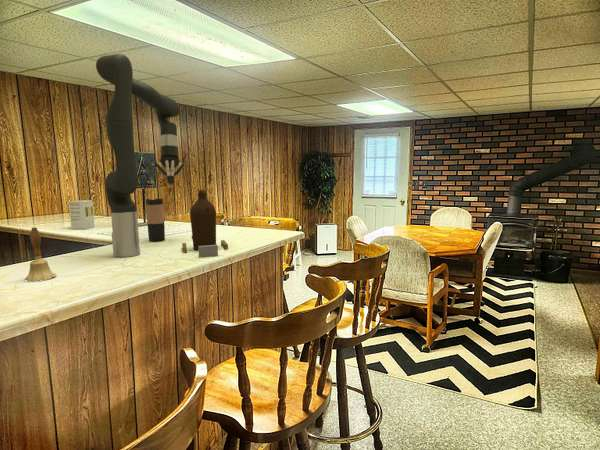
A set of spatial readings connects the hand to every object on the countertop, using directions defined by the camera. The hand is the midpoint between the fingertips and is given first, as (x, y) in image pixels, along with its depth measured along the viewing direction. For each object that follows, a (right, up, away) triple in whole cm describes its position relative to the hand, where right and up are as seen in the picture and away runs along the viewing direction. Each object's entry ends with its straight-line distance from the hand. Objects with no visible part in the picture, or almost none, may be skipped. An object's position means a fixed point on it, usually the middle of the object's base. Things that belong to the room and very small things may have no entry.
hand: (170, 184), depth 170 cm
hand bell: (-22, -35, -53) cm, 67 cm away
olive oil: (+18, -29, -10) cm, 35 cm away
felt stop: (+23, -30, -25) cm, 46 cm away
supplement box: (-73, -21, +58) cm, 95 cm away
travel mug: (-10, -26, +11) cm, 30 cm away
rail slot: (+18, -28, -10) cm, 35 cm away
